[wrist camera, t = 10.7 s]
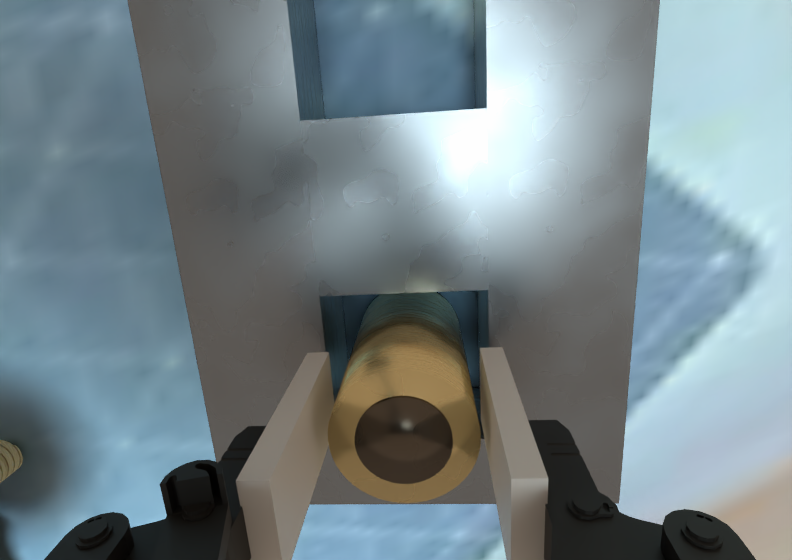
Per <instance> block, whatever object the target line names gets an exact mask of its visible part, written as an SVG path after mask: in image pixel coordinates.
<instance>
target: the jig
mask: <svg viewBox="0 0 792 560" xmlns="http://www.w3.org/2000/svg"><path fill="white" fill-rule="evenodd" d="M128 5H129V11H130V16H131V21H132V26H133V31H134V37H135V42H136V47H137V52H138V57H139V63H140V68H141V73H142V78H143V83H144V89H145V94H146V99H147V104H148V109H149V115H150V120H151V125H152V130H153V135H154V141H155V146H156V151H157V156H158V161H159V166H160V172H161V177H162V182H163V187H164V192H165V198H166V203H167V208H168V213H169V218H170V224H171V229H172V234H173V239H174V244H175V250H176V255H177V260H178V265H179V270H180V276H181V281H182V286H183V291H184V296H185V302H186V307H187V312H188V317H189V322H190V328H191V333H192V338H193V343H194V348H195V354H196V359H197V364H198V369H199V374H200V380H201V385H202V390H203V395H204V400H205V406H206V411H207V416H208V421H209V426H210V432H211V437H212V442H213V447H214V452H215V458H216V462H217V463H218V462H219V461H221V458H222V456H223V454H224V453H225V451H227V448H228V447H229V445H230V444H231V442H232V441H233V439H234V437H235V436H236V435H238V434H239V433H240V432H242V431H243V430H244V429H245V428H247V427H248V426H267V424H268V422H269V421H270V419H271V417H272V415H273V413H274V412H275V410H276V408H277V406H278V404H279V403H280V401H281V399H282V397H283V396H284V394H285V392H286V390H287V388H288V387H289V385H290V383H291V381H292V379H293V378H294V376H295V374H296V372H297V371H298V369H299V367H300V365H301V363H302V362H303V360H304V358H305V356H306V355H307V353H317V352H329V358H330V367H331V376H332V385H333V395H334V404H335V401H336V398H337V395H338V392H339V389H340V386H341V383H342V380H343V377H344V374H345V371H346V368H347V365H348V354H347V344H346V333H345V323H344V313H343V302H342V295H367V294H393V293H420V292H446V291H473V290H478V335H479V387H472V390H473V395H474V400H475V405H476V410H477V415H478V420H479V425H480V431H481V446H480V451H479V455H478V458H477V461H476V463H475V465H474V467H473V469H472V470H471V472H470V473H469V474H468V476H467V477H466V478H465V479H464V480H463V481H462V482H461V483H460V484H459V485H458V486H457V487H455V488H454V489H453V490H451V491H449V492H448V493H446V494H444V495H442V496H440V497H437V498H435V499H431V500H428V501H423V502H417V503H396V502H390V501H385V500H382V499H378V498H376V497H373V496H371V495H369V494H367V493H365V492H363V491H361V490H360V489H358V488H357V487H356V486H354V485H353V484H352V483H351V482H350V481H348V480H347V479H346V478H345V476H344V475H343V474H342V473H341V472H340V470H339V469H338V467H337V466H336V464H335V462H334V460H333V458H332V455H331V452H330V449H329V445H328V448H327V451H326V455H325V458H324V461H323V464H322V467H321V470H320V473H319V476H318V479H317V482H316V485H315V488H314V491H313V495H312V498H311V501H310V504H496V498H495V493H494V488H493V482H492V477H491V471H490V466H489V460H488V455H487V450H486V444H485V439H484V433H483V428H482V422H481V397H480V348H491V347H503V350H504V353H505V356H506V359H507V361H508V364H509V367H510V370H511V373H512V376H513V379H514V382H515V384H516V387H517V390H518V393H519V396H520V399H521V402H522V404H523V407H524V410H525V413H526V416H527V419H528V420H558V421H559V422H560V423H561V424H562V425H564V426H565V427H566V428H567V429H568V430H569V431H570V433H571V435H572V437H573V439H574V441H575V445H577V447H578V449H579V451H580V455H581V456H582V458H583V460H584V462H585V464H586V466H587V468H588V470H589V472H590V475H591V477H592V479H593V481H594V483H595V485H596V487H597V489H598V491H599V492H600V493H602V494H604V495H606V496H607V497H609V498H610V499H611V500H612V501H613V502H614V503H619V496H620V483H621V471H622V459H623V447H624V434H625V422H626V410H627V398H628V385H629V373H630V361H631V348H632V336H633V324H634V312H635V299H636V287H637V275H638V262H639V250H640V238H641V226H642V213H643V201H644V189H645V177H646V164H647V152H648V140H649V127H650V115H651V103H652V91H653V78H654V66H655V54H656V41H657V29H658V17H659V5H660V0H474V55H475V109H468V110H453V111H438V112H423V113H408V114H393V115H379V116H364V117H349V118H334V119H325V116H324V106H323V96H322V85H321V75H320V65H319V54H318V44H317V34H316V23H315V13H314V3H313V0H128Z"/></svg>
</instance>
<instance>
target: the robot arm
mask: <svg viewBox="0 0 792 560" xmlns="http://www.w3.org/2000/svg"><path fill="white" fill-rule="evenodd" d="M480 397H481V422H482V428H483V433H484V439H485V444H486V450H487V455H488V460H489V466H490V471H491V477H492V482H493V488H494V493H495V498H496V504H497V509H498V515H499V520H500V526H501V531H502V536H503V542H504V547H505V553H506V558H507V560H756V559H755V558H754V556H753V555H752V554H751V552H750V551H749V550H748V548H747V547H746V546H745V544H744V543H743V541H742V540H741V539H740V537H739V536H738V535H737V534H736V533H735V532H734V531H733V530H732V529H731V528H730V527H729V526H728V525H727V524H725V523H724V522H722V521H720V520H719V519H717V518H715V517H713V516H711V515H708V514H705V513H703V512H700V511H693V510H686V509H684V510H677V511H673V512H671V513H669V514H668V515H666V516H665V519H664V522H663V525H660V524H655V523H651V522H647V521H642V520H638V519H635V518H632V517H629V516H627V515H624V514H622V513H620V512H619V510H618V508H617V506H616V504H615V503H614V502H613V501H612V500H611V499H610V498H609V497H607V496H606V495H604V494H602V493H600V492H599V491H598V489H597V487H596V485H595V483H594V481H593V479H592V477H591V475H590V472H589V470H588V468H587V466H586V464H585V462H584V460H583V458H582V456H581V455H580V451H579V449H578V447H577V445H575V441H574V439H573V437H572V435H571V433H570V431H569V430H568V429H567V428H566V427H565V426H564V425H562V424H561V423H560V422H559V421H558V420H528V419H527V416H526V413H525V410H524V407H523V404H522V402H521V399H520V396H519V393H518V390H517V387H516V384H515V382H514V379H513V376H512V373H511V370H510V367H509V364H508V361H507V359H506V356H505V353H504V350H503V347H491V348H480ZM333 407H334V395H333V385H332V376H331V367H330V358H329V352H317V353H307V355H306V356H305V358H304V360H303V362H302V363H301V365H300V367H299V369H298V371H297V372H296V374H295V376H294V378H293V379H292V381H291V383H290V385H289V387H288V388H287V390H286V392H285V394H284V396H283V397H282V399H281V401H280V403H279V404H278V406H277V408H276V410H275V412H274V413H273V415H272V417H271V419H270V421H269V422H268V424H267V426H248V427H247V428H245V429H244V430H243V431H242V432H240V433H239V434H238V435H236V436H235V437H234V439H233V441H232V442H231V444H230V445H229V447H228V448H227V451H225V453H224V454H223V456H222V458H221V461H219V462H218V463H217V462H214V461H210V460H197V461H194V462H190V463H186V464H184V465H182V466H180V467H178V468H176V469H174V470H173V471H171V472H170V473H169V474H168V475H166V476H165V477H164V479H163V480H162V482H161V483H160V487H161V492H162V496H163V500H164V504H165V509H166V513H167V517H166V519H164V520H161V521H157V522H153V523H149V524H145V525H141V526H137V527H133V528H130V524H129V520H128V518H127V517H126V516H125V515H123V514H121V513H114V512H112V513H105V514H100V515H98V516H95V517H92V518H90V519H87V520H86V521H84V522H82V523H81V524H79V525H77V526H75V527H74V528H73V529H72V530H71V531H70V532H69V533H68V534H67V535H65V536H64V538H63V539H62V540H61V541H60V542H59V543H58V544H57V546H56V547H55V548H54V549H53V550H52V551H51V552H50V553H49V555H48V556H47V557H46V558H45V559H44V560H291V559H292V556H293V553H294V550H295V547H296V544H297V541H298V538H299V535H300V531H301V528H302V525H303V522H304V519H305V516H306V513H307V510H308V507H309V504H310V501H311V498H312V495H313V491H314V488H315V485H316V482H317V479H318V476H319V473H320V470H321V467H322V464H323V461H324V458H325V455H326V451H327V448H328V445H329V444H328V424H329V420H330V416H331V413H332V410H333Z"/></svg>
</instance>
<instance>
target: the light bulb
mask: <svg viewBox="0 0 792 560" xmlns="http://www.w3.org/2000/svg"><path fill="white" fill-rule="evenodd" d="M22 462H23V457H22V454H21V451H20V449H19V448H18V447H17V446H16V445H12V444H11V443H10V442H7V441H5V440H0V483H1V482H2V481H4V480H5V479H6V478H7V477H9V476H10V475H11V474H12V473H14V472H15V471H16V470H17V469H19V468H20V467H21V465H22Z"/></svg>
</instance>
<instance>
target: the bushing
mask: <svg viewBox="0 0 792 560" xmlns="http://www.w3.org/2000/svg"><path fill="white" fill-rule="evenodd" d="M328 444H329V449H330V452H331V455H332V458H333V460H334V462H335V464H336V466H337V467H338V469H339V470H340V472H341V473H342V474H343V475H344V476H345V478H346V479H347V480H348V481H350V482H351V483H352V484H353V485H354V486H356V487H357V488H358V489H360V490H361V491H363V492H365V493H367V494H369V495H371V496H373V497H376V498H378V499H382V500H385V501H390V502H396V503H417V502H423V501H428V500H431V499H435V498H437V497H440V496H442V495H444V494H446V493H448V492H449V491H451V490H453V489H454V488H455V487H457V486H458V485H459V484H460V483H461V482H462V481H463V480H464V479H465V478H466V477H467V476H468V474H469V473H470V472H471V470H472V469H473V467H474V465H475V463H476V461H477V458H478V455H479V451H480V446H481V431H480V425H479V420H478V415H477V410H476V405H475V400H474V395H473V390H472V385H471V380H470V375H469V370H468V365H467V360H466V355H465V350H464V345H463V340H462V335H461V330H460V325H459V321H458V318H457V315H456V313H455V311H454V309H453V308H452V306H451V305H450V304H449V302H448V301H447V300H446V299H445V298H443V297H442V296H441V295H440V294H438V293H436V292H420V293H393V294H381V295H379V296H378V297H377V298H376V299H375V300H374V301H373V302H372V303H371V304H370V305H369V307H368V308H367V310H366V312H365V314H364V317H363V320H362V323H361V326H360V329H359V332H358V335H357V338H356V341H355V344H354V347H353V350H352V353H351V356H350V359H349V362H348V365H347V368H346V371H345V374H344V377H343V380H342V383H341V386H340V389H339V392H338V395H337V398H336V401H335V404H334V407H333V410H332V413H331V416H330V420H329V424H328Z"/></svg>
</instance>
